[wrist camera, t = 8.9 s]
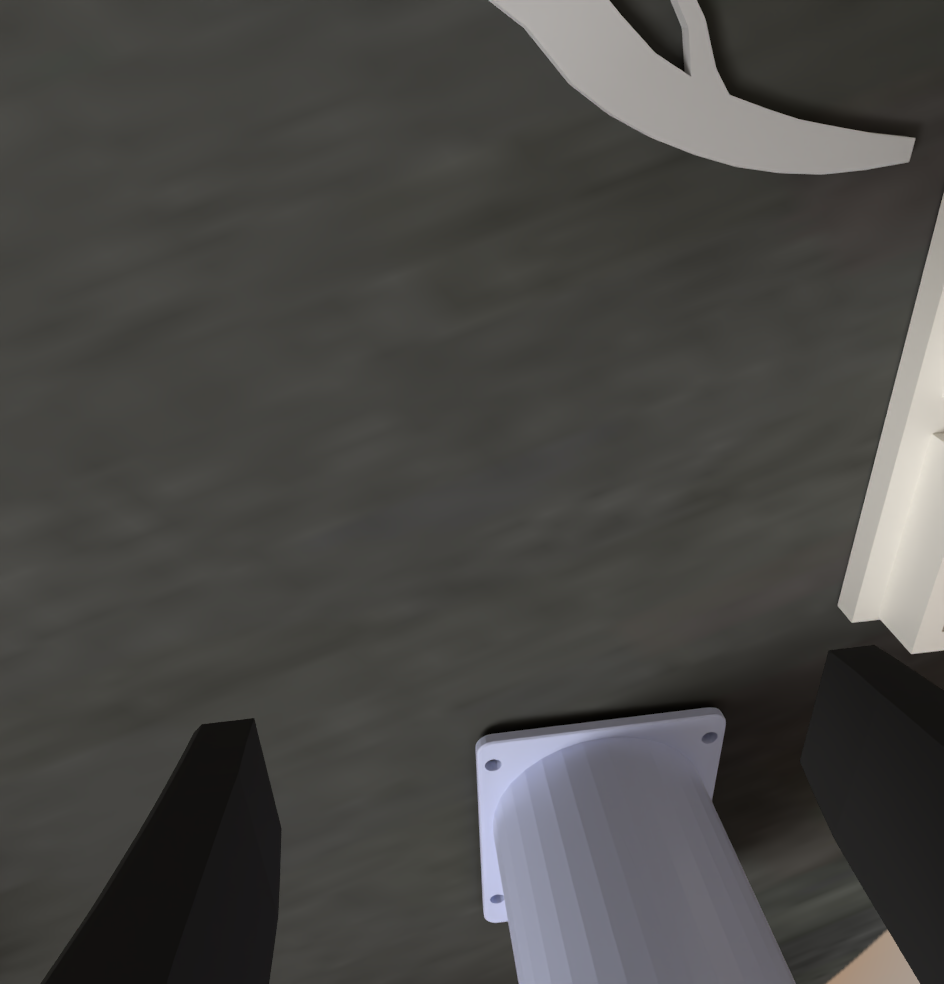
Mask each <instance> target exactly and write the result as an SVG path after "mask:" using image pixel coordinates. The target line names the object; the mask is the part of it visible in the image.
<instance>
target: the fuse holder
mask: <svg viewBox="0 0 944 984" xmlns="http://www.w3.org/2000/svg"><path fill="white" fill-rule="evenodd" d="M837 606H838V607H839V608H840V609H841V611H842V612H843V613H844V614H845V615H846V617H847V618H848V619H849V620H850V621H851V623H855V622H863V621H872V620H881V621H882V622H883V623H884V624H885V625H886V627H887V628H888V629H889V630H890V631H891V632H892V633H893V634H894V636H895V637H896V638H897V639H898V640H899V641H900V642H901V643H902V645H903V646H904V647H905V648H906V649H907V650H908V651H909V652H910V654H917V653H925V652H934V651H942V650H944V194H943V198H942V201H941V205H940V209H939V213H938V217H937V221H936V225H935V229H934V232H933V236H932V240H931V244H930V248H929V252H928V256H927V260H926V264H925V267H924V271H923V275H922V279H921V283H920V287H919V291H918V295H917V299H916V302H915V306H914V310H913V314H912V318H911V322H910V326H909V330H908V333H907V337H906V341H905V345H904V349H903V353H902V357H901V361H900V365H899V368H898V372H897V376H896V380H895V384H894V388H893V392H892V396H891V400H890V403H889V407H888V411H887V415H886V419H885V423H884V427H883V431H882V434H881V438H880V442H879V446H878V450H877V454H876V458H875V462H874V466H873V469H872V473H871V477H870V481H869V485H868V489H867V493H866V497H865V500H864V504H863V508H862V512H861V516H860V520H859V524H858V528H857V532H856V535H855V539H854V543H853V547H852V551H851V555H850V559H849V563H848V567H847V570H846V574H845V578H844V582H843V586H842V590H841V594H840V598H839V601H838V605H837Z"/></svg>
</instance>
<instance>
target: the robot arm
mask: <svg viewBox="0 0 944 984" xmlns="http://www.w3.org/2000/svg"><path fill="white" fill-rule="evenodd" d="M725 727H726V719H725V717H724V716H723V714H722V712H721V711H720V710H719V709H717V708H714V707H707V708H699V709H691V710H683V711H674V712H666V713H658V714H650V715H642V716H634V717H626V718H617V719H609V720H601V721H593V722H585V723H577V724H569V725H560V726H552V727H544V728H536V729H528V730H520V731H511V732H503V733H495V734H489V735H485V736H484V737H482V738H480V739H479V740H478V742H477V743H476V747H475V748H476V770H477V791H478V813H479V834H480V856H481V877H482V899H483V912H484V917H485V919H486V920H487V921H489V922H493V923H499V922H505V921H508V924H509V929H510V935H511V941H512V947H513V953H514V959H515V965H516V971H517V976H518V982H519V984H796V983H795V981H794V979H793V976H792V974H791V972H790V970H789V968H788V966H787V963H786V961H785V959H784V957H783V955H782V953H781V950H780V948H779V946H778V944H777V942H776V940H775V937H774V935H773V933H772V931H771V929H770V927H769V924H768V922H767V920H766V918H765V916H764V914H763V911H762V909H761V907H760V905H759V903H758V901H757V898H756V896H755V894H754V892H753V890H752V888H751V885H750V883H749V881H748V879H747V877H746V875H745V872H744V870H743V868H742V866H741V864H740V862H739V859H738V857H737V855H736V853H735V851H734V848H733V846H732V844H731V842H730V840H729V838H728V835H727V833H726V831H725V829H724V827H723V825H722V822H721V820H720V818H719V816H718V814H717V812H716V809H715V807H714V805H713V803H712V798H713V792H714V787H715V781H716V776H717V771H718V765H719V760H720V754H721V749H722V743H723V738H724V732H725ZM493 759H496V760H493ZM489 760H493V761H489ZM800 763H801V765H802V767H803V770H804V772H805V774H806V777H807V779H808V781H809V784H810V786H811V788H812V791H813V793H814V795H815V798H816V800H817V802H818V805H819V807H820V809H821V811H822V813H823V815H824V818H825V820H826V822H827V824H828V826H829V828H830V831H831V833H832V835H833V837H834V839H835V841H836V842H837V844H838V846H839V848H840V849H841V851H842V853H843V855H844V856H845V858H846V860H847V862H848V863H849V865H850V867H851V868H852V870H853V872H854V873H855V875H856V877H857V879H858V880H859V882H860V884H861V885H862V887H863V889H864V890H865V892H866V894H867V896H868V897H869V899H870V901H871V902H872V904H873V906H874V907H875V909H876V911H877V912H878V914H879V916H880V917H881V919H882V921H883V922H884V924H885V926H886V927H887V929H888V931H889V932H890V934H891V936H892V937H893V939H894V940H895V942H896V944H897V946H898V947H899V949H900V951H901V952H902V954H903V955H904V957H905V959H906V961H907V962H908V964H909V965H910V967H911V969H912V970H913V972H914V974H915V976H916V977H917V979H918V980H919V982H920V984H944V691H943V690H942V689H940V688H939V687H937V686H936V685H934V684H933V683H931V682H930V681H928V680H927V679H925V678H924V677H922V676H921V675H919V674H918V673H916V672H915V671H913V670H912V669H910V668H909V667H907V666H906V665H904V664H903V663H901V662H900V661H898V660H897V659H895V658H894V657H892V656H891V655H889V654H887V653H886V652H884V651H883V650H881V649H879V648H878V647H876V646H875V645H871V646H863V647H854V648H846V649H837V650H829V651H828V655H827V659H826V663H825V667H824V671H823V674H822V678H821V682H820V686H819V690H818V694H817V697H816V701H815V705H814V709H813V713H812V717H811V720H810V724H809V728H808V732H807V736H806V739H805V743H804V747H803V751H802V755H801V759H800ZM280 857H281V825H280V821H279V817H278V813H277V809H276V805H275V801H274V797H273V793H272V789H271V785H270V781H269V777H268V773H267V769H266V765H265V761H264V757H263V753H262V749H261V745H260V740H259V736H258V732H257V728H256V724H255V720H254V718H252V719H244V720H235V721H227V722H218V723H210V724H202V725H201V726H200V727H199V728H198V729H197V730H196V731H195V732H194V734H193V736H192V738H191V740H190V741H189V743H188V745H187V747H186V749H185V751H184V753H183V755H182V757H181V758H180V760H179V762H178V764H177V766H176V768H175V769H174V771H173V773H172V775H171V777H170V779H169V780H168V782H167V784H166V786H165V788H164V789H163V791H162V793H161V795H160V796H159V798H158V800H157V802H156V803H155V805H154V807H153V809H152V810H151V812H150V814H149V815H148V817H147V819H146V821H145V822H144V824H143V826H142V827H141V829H140V831H139V833H138V834H137V836H136V838H135V839H134V841H133V843H132V844H131V846H130V847H129V849H128V851H127V852H126V854H125V855H124V857H123V859H122V860H121V862H120V864H119V865H118V867H117V868H116V870H115V872H114V873H113V875H112V876H111V878H110V880H109V881H108V883H107V884H106V886H105V888H104V889H103V891H102V893H101V894H100V896H99V897H98V899H97V901H96V902H95V904H94V905H93V907H92V908H91V910H90V911H89V913H88V915H87V916H86V918H85V919H84V921H83V922H82V924H81V925H80V926H79V928H78V929H77V931H76V932H75V934H74V935H73V937H72V938H71V940H70V941H69V943H68V944H67V946H66V947H65V949H64V950H63V951H62V953H61V954H60V956H59V957H58V959H57V960H56V962H55V963H54V965H53V966H52V968H51V969H50V971H49V972H48V974H47V975H46V976H45V978H44V979H43V981H42V982H41V984H269V979H270V972H271V965H272V958H273V951H274V943H275V936H276V929H277V921H278V908H279V885H280Z"/></svg>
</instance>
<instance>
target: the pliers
mask: <svg viewBox="0 0 944 984" xmlns="http://www.w3.org/2000/svg"><path fill="white" fill-rule="evenodd" d="M489 1H490V2H491V3H493V4H494V5H495V6H496V7H498V8H499V9H500V10H502V11H503V12H504V13H505V14H507V15H508V16H509V17H511V18H512V19H513V20H514V21H516V22H517V23H518V24H520V25H521V26H522V27H523V28H524V29H525V30H526V31H527V33H528V34H529V35H530V36H531V37H532V39H533V40H534V41H535V42H536V44H537V45H538V46H539V47H540V49H541V50H542V51H543V52H544V54H545V55H546V56H547V57H548V59H549V60H550V61H551V62H552V64H553V65H554V66H555V67H556V69H557V70H558V71H559V72H560V74H561V75H562V76H563V77H564V78H565V80H566V81H567V82H568V83H569V84H570V85H571V86H572V87H573V88H575V89H576V90H577V91H579V92H580V93H581V94H582V95H584V96H585V97H586V98H588V99H589V100H590V101H591V102H593V103H594V104H595V105H597V106H598V107H599V108H601V109H602V110H603V111H604V112H606V113H607V114H608V115H610V116H612V117H614V118H615V119H617V120H619V121H621V122H623V123H625V124H626V125H628V126H630V127H632V128H634V129H636V130H637V131H639V132H641V133H643V134H645V135H647V136H648V137H651V138H653V139H656V140H658V141H661V142H663V143H666V144H668V145H671V146H673V147H676V148H678V149H681V150H683V151H686V152H689V153H691V154H694V155H697V156H700V157H704V158H707V159H711V160H714V161H718V162H721V163H725V164H728V165H732V166H735V167H740V168H747V169H754V170H761V171H768V172H775V173H792V174H822V175H823V174H832V173H841V172H851V171H860V170H868V169H873V168H879V167H885V166H890V165H896V164H901V163H907V162H909V161H910V157H911V153H912V150H913V146H914V142H915V139H916V138H912V137H906V136H898V135H889V134H881V133H872V132H863V131H858V130H852V129H847V128H841V127H836V126H830V125H825V124H820V123H815V122H810V121H805V120H800V119H797V118H794V117H791V116H788V115H785V114H781V113H778V112H775V111H772V110H769V109H766V108H764V107H761V106H758V105H756V104H753V103H750V102H748V101H745V100H742V99H739V98H737V97H734V96H731V95H729V93H728V91H727V89H726V87H725V85H724V83H723V81H722V79H721V77H720V75H719V73H718V71H717V69H716V65H715V61H714V56H713V51H712V47H711V42H710V38H709V33H708V29H707V24H706V19H705V17H704V15H703V13H702V10H701V8H700V6H699V4H698V2H697V0H671V3H672V5H673V8H674V10H675V13H676V15H677V17H678V20H679V22H680V25H681V27H682V39H683V55H684V71H685V72H683V71H682V70H680V69H679V68H677V67H676V66H674V65H673V64H671V63H670V62H668V61H667V60H665V59H664V58H662V57H661V56H659V55H657V54H656V53H655V52H654V51H653V50H652V49H651V48H650V47H649V45H648V44H647V43H646V42H645V41H644V40H643V39H642V38H641V37H640V35H639V34H638V33H637V32H636V31H635V30H634V29H633V28H632V27H631V25H630V24H629V23H628V22H627V21H626V20H625V19H624V18H623V16H622V15H621V14H620V13H619V12H618V10H617V9H616V8H615V7H614V5H613V4H612V3H611V2H610V0H489Z"/></svg>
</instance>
